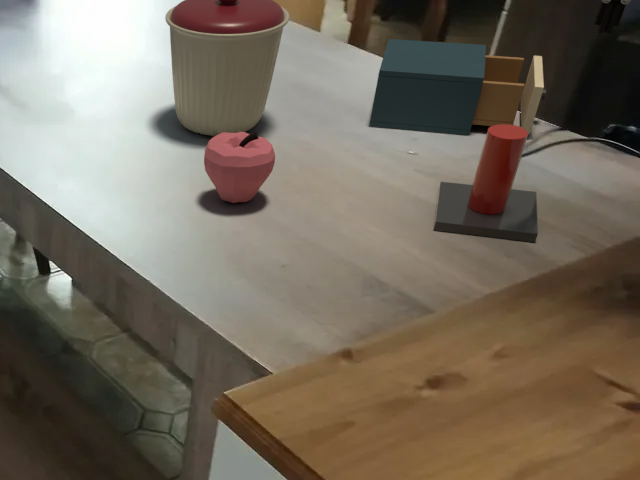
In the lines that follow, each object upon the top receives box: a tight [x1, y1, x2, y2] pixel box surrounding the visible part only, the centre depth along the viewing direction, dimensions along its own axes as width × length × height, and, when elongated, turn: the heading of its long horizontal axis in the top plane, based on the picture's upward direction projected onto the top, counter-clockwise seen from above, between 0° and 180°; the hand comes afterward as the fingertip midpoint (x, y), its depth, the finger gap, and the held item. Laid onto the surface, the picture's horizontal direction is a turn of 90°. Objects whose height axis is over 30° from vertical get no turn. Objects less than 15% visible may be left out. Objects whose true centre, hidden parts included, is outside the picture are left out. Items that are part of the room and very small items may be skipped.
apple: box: [203, 130, 276, 204], centre depth 125 cm, size 10×9×10 cm
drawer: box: [472, 54, 547, 134], centre depth 141 cm, size 15×13×7 cm
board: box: [433, 181, 539, 243], centre depth 121 cm, size 12×12×1 cm
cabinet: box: [368, 38, 487, 136], centre depth 144 cm, size 15×15×9 cm
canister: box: [164, 0, 290, 137], centre depth 141 cm, size 18×18×21 cm
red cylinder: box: [468, 124, 529, 214], centre depth 117 cm, size 5×5×10 cm
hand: (603, 30), depth 132 cm, fingers closed
